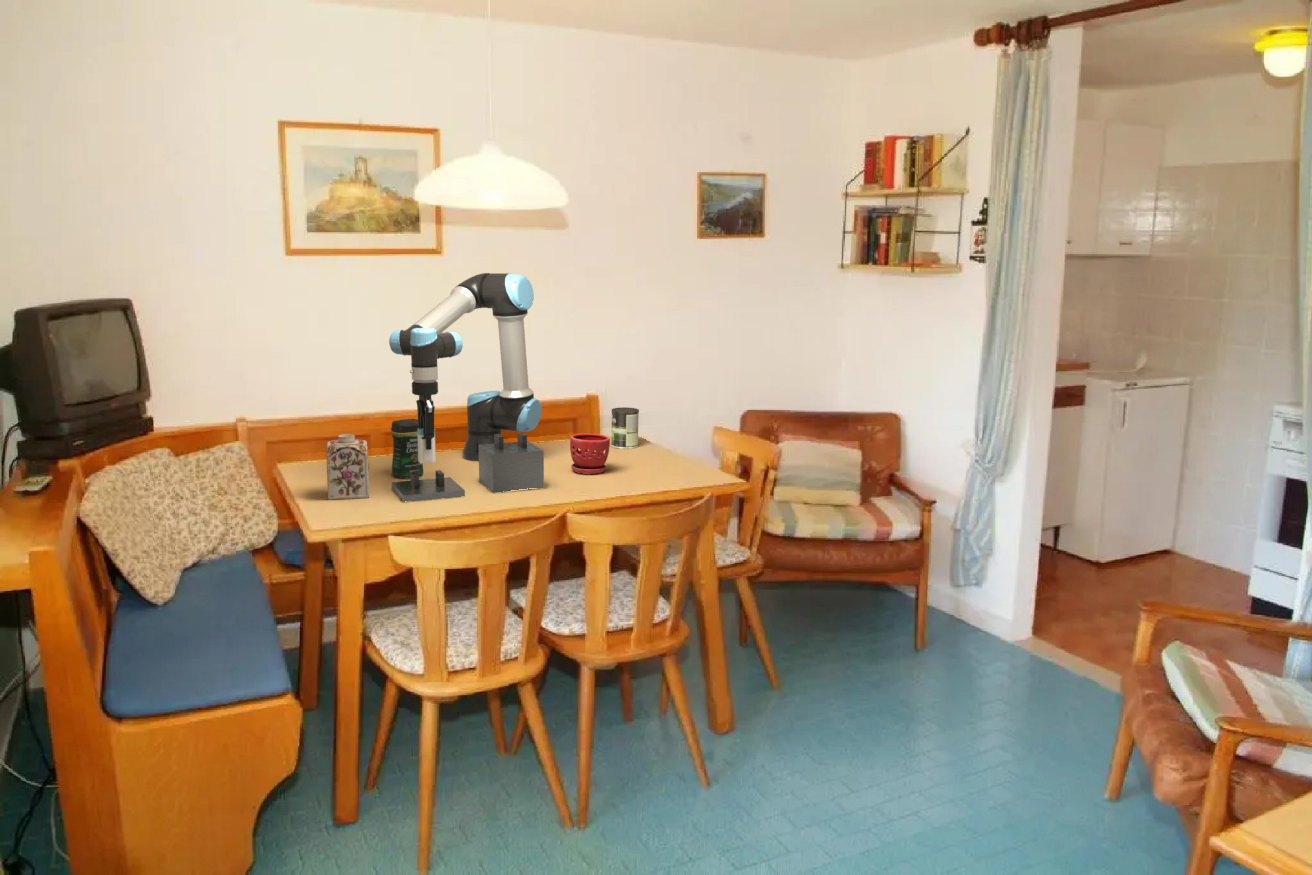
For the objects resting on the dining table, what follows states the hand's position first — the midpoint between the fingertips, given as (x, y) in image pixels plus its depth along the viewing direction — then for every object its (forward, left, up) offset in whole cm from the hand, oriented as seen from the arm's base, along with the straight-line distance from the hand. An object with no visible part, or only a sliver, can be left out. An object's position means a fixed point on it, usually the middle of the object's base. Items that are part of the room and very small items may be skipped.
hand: (426, 458), depth 296 cm
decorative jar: (-6, -22, -11) cm, 25 cm away
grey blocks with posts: (0, +13, -10) cm, 17 cm away
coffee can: (-44, +84, -11) cm, 95 cm away
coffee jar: (-24, -1, -11) cm, 26 cm away
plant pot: (-9, +56, -11) cm, 58 cm away
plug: (0, 0, -1) cm, 1 cm away
